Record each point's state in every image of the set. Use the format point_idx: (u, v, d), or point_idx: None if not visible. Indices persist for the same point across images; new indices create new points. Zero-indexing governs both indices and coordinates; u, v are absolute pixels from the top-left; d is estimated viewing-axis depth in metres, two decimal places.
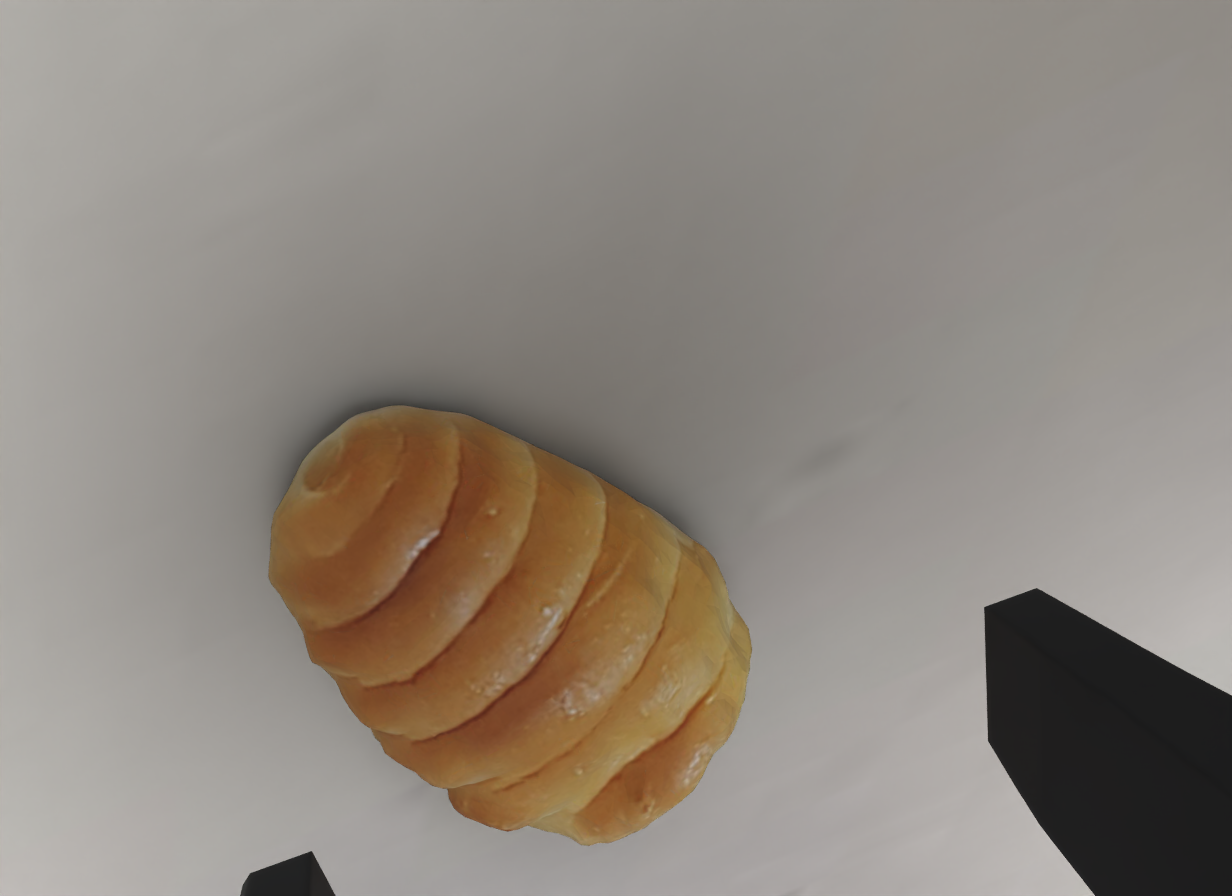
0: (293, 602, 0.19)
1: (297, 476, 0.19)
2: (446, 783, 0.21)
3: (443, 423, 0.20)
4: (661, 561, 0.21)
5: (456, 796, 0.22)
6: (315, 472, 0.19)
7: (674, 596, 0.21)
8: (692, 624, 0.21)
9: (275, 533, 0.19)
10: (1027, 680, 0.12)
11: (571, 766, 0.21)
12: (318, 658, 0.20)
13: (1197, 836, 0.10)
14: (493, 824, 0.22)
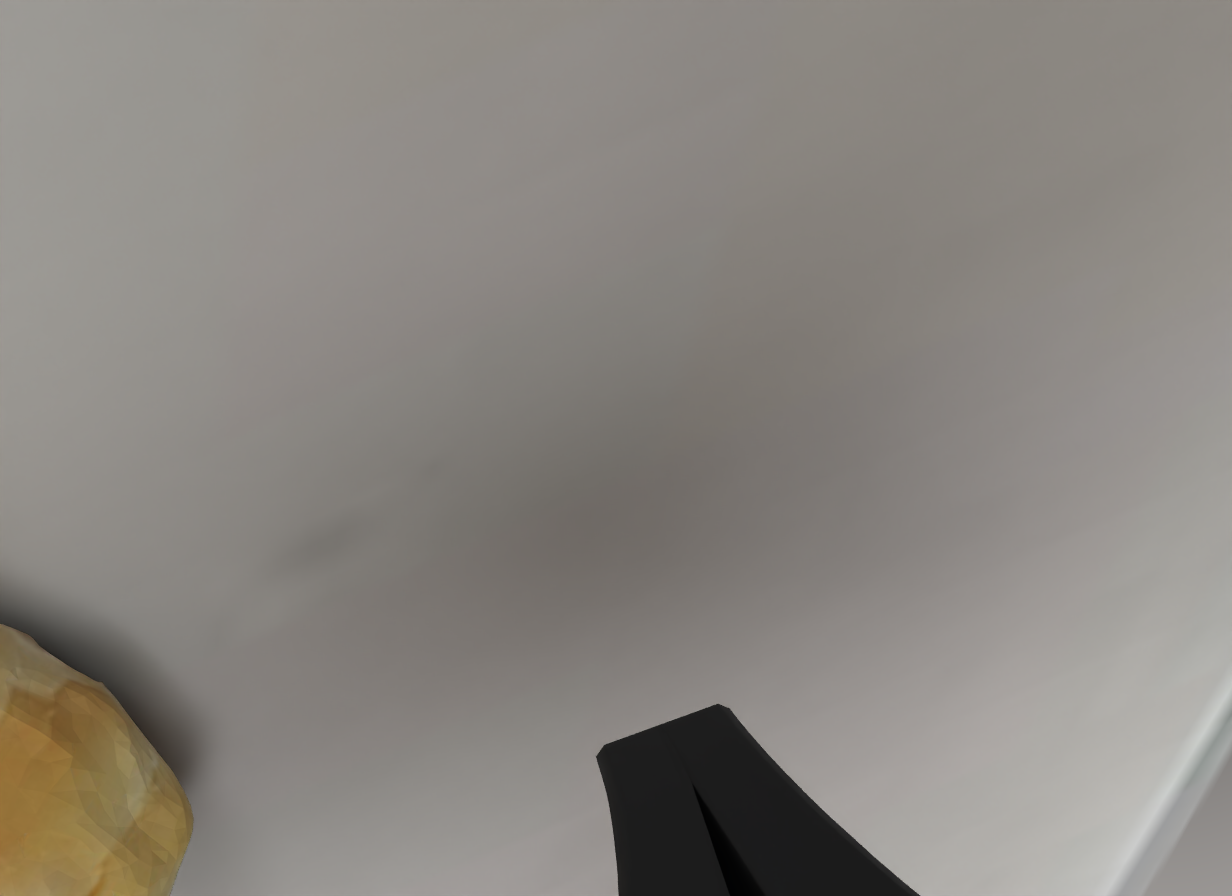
0: None
1: None
2: None
3: None
4: None
5: None
6: None
7: None
8: (7, 829, 0.13)
9: None
10: None
11: None
12: None
13: None
14: None
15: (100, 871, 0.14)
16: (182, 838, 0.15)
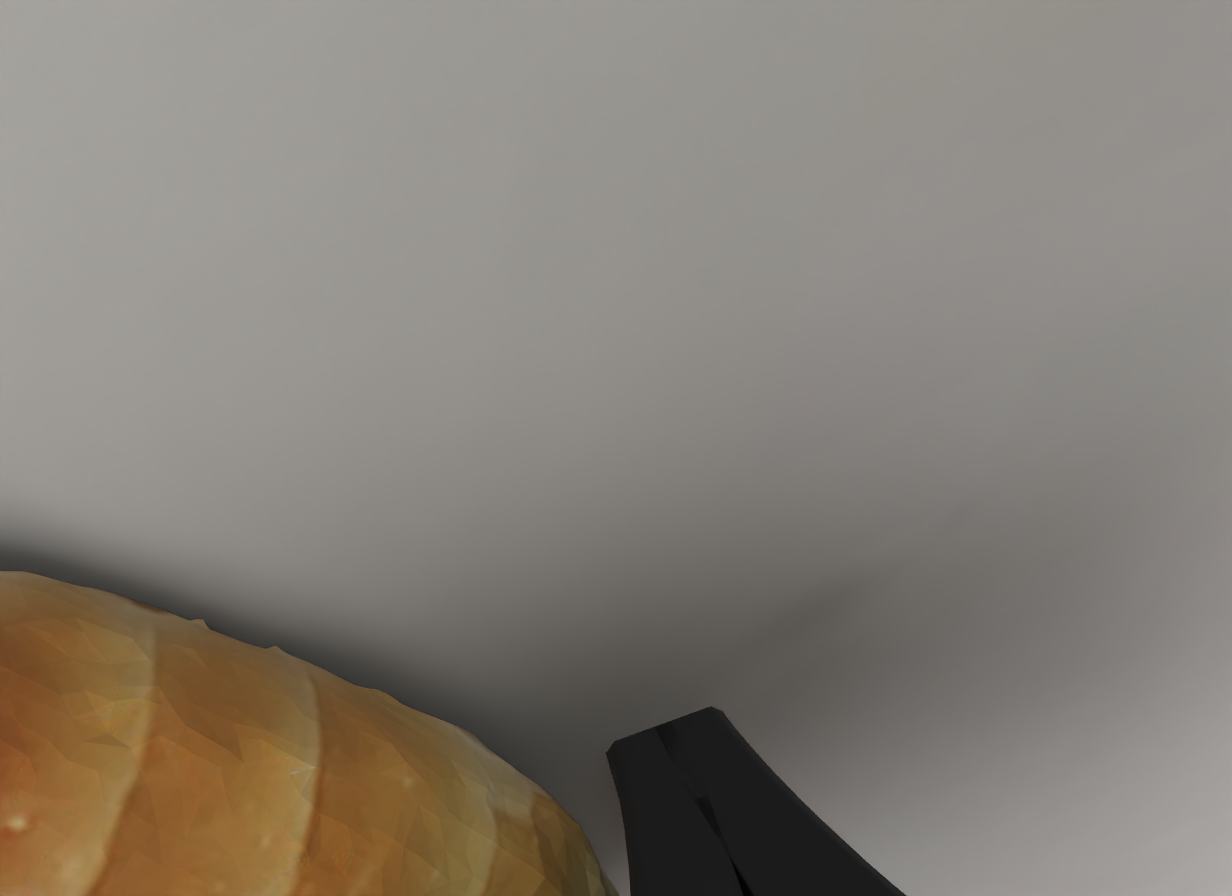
0: None
1: None
2: None
3: None
4: (448, 875, 0.10)
5: None
6: None
7: None
8: None
9: None
10: None
11: None
12: None
13: None
14: None
15: None
16: None
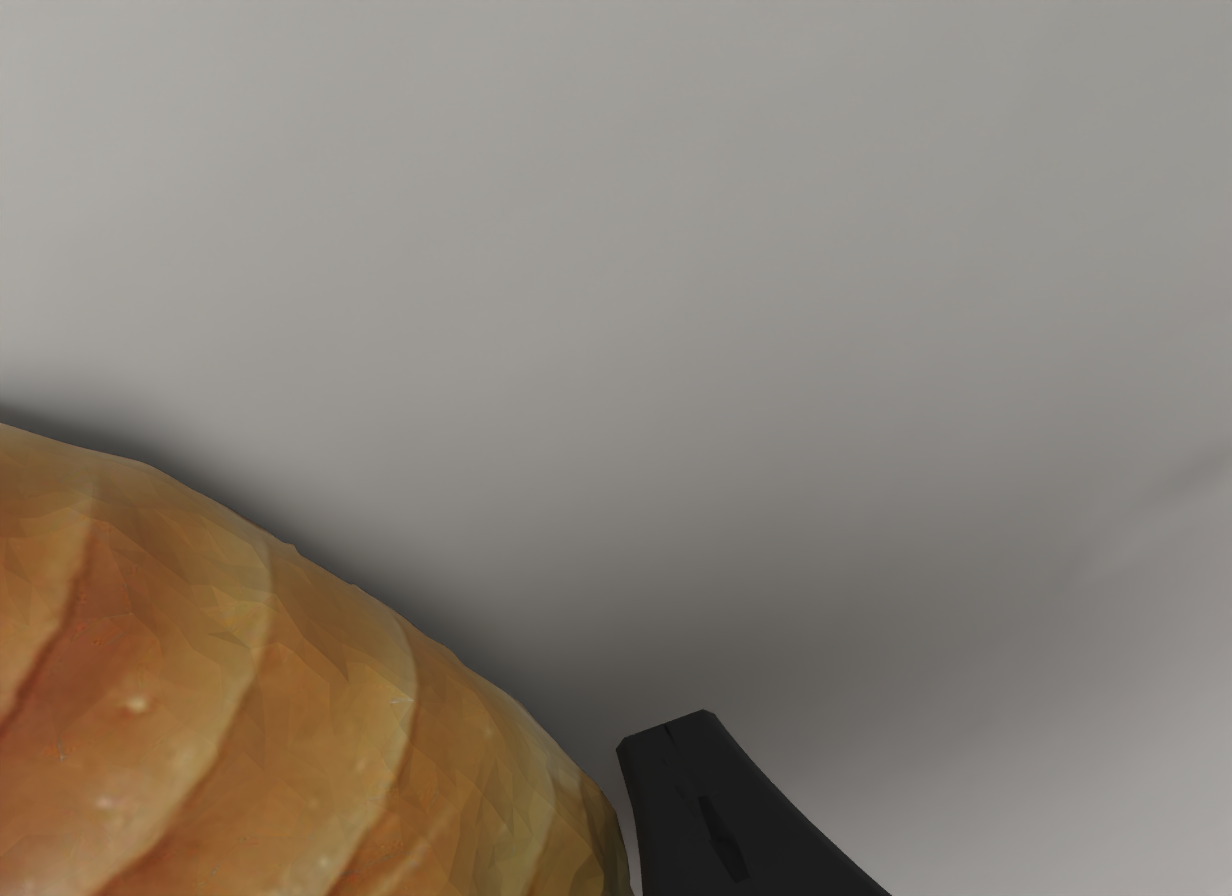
0: None
1: None
2: None
3: (70, 477, 0.09)
4: (513, 832, 0.10)
5: None
6: None
7: None
8: None
9: None
10: None
11: None
12: None
13: None
14: None
15: None
16: None
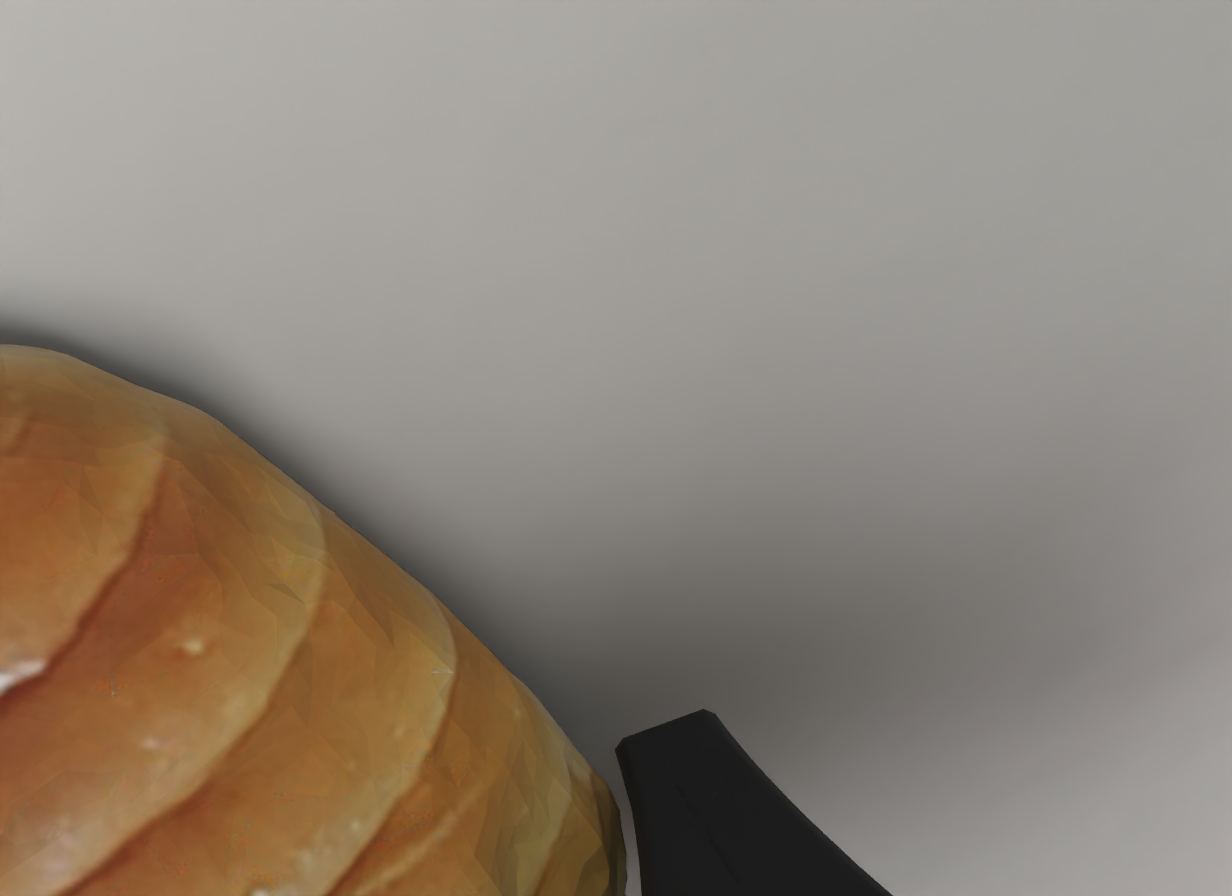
0: None
1: None
2: None
3: (141, 414, 0.08)
4: (533, 815, 0.10)
5: None
6: None
7: (539, 890, 0.10)
8: None
9: None
10: None
11: None
12: None
13: None
14: None
15: None
16: None
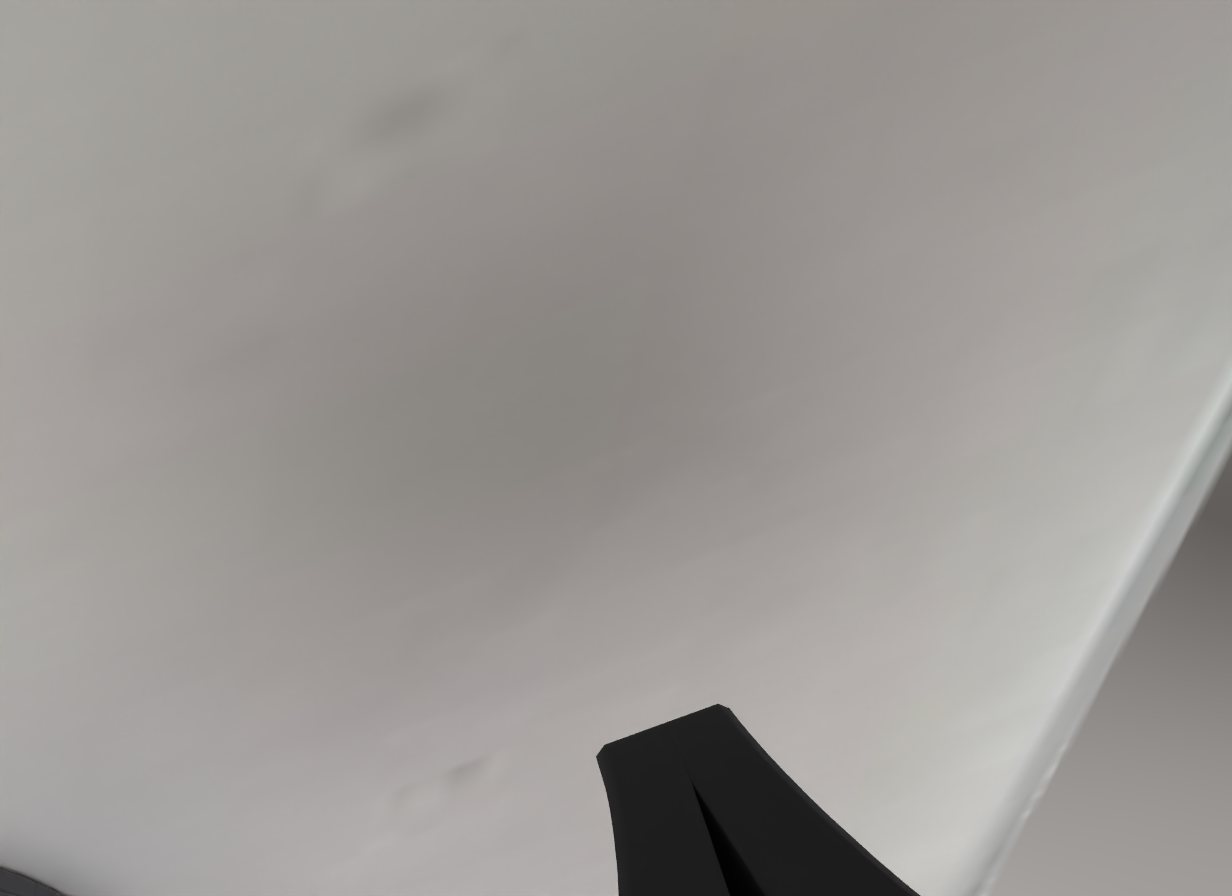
0: None
1: None
2: None
3: None
4: None
5: None
6: None
7: None
8: None
9: None
10: None
11: None
12: None
13: None
14: None
15: None
16: None
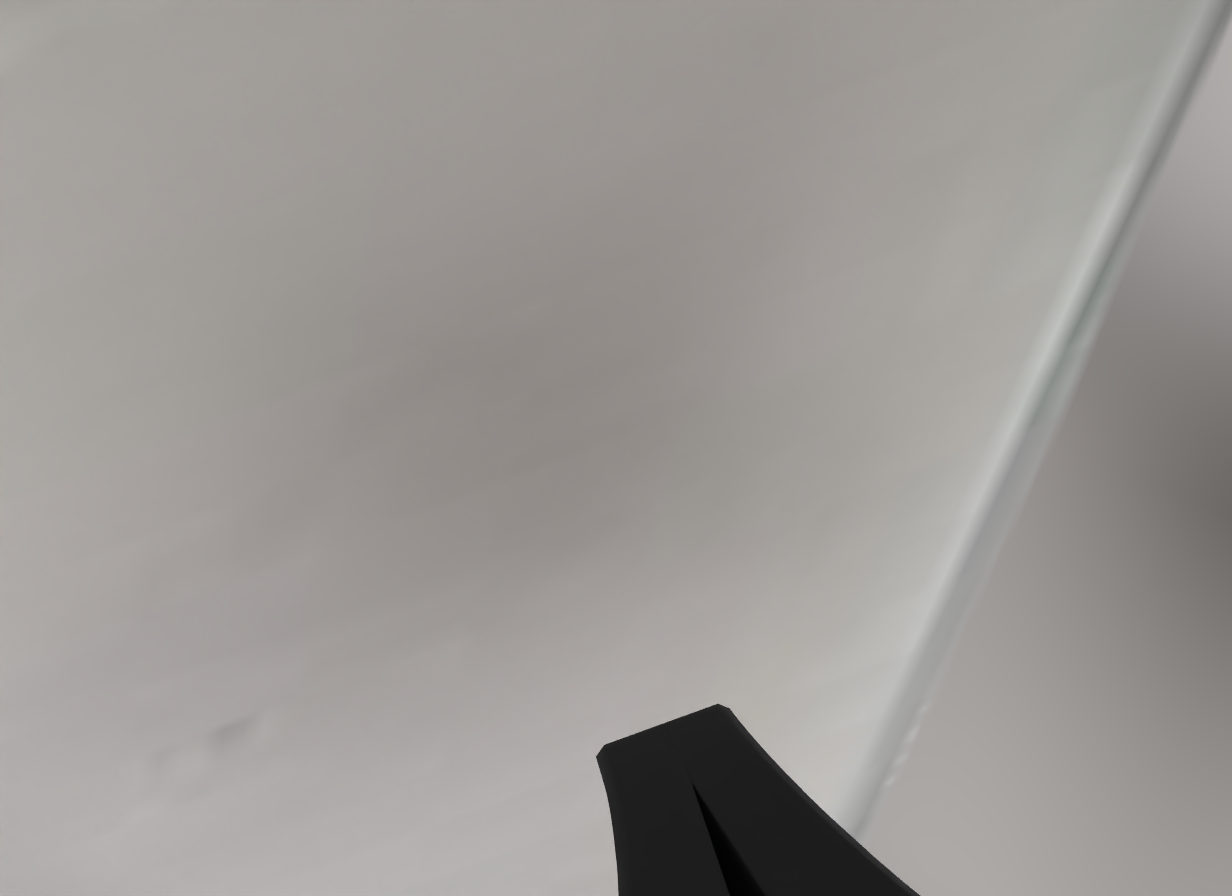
0: None
1: None
2: None
3: None
4: None
5: None
6: None
7: None
8: None
9: None
10: None
11: None
12: None
13: None
14: None
15: None
16: None
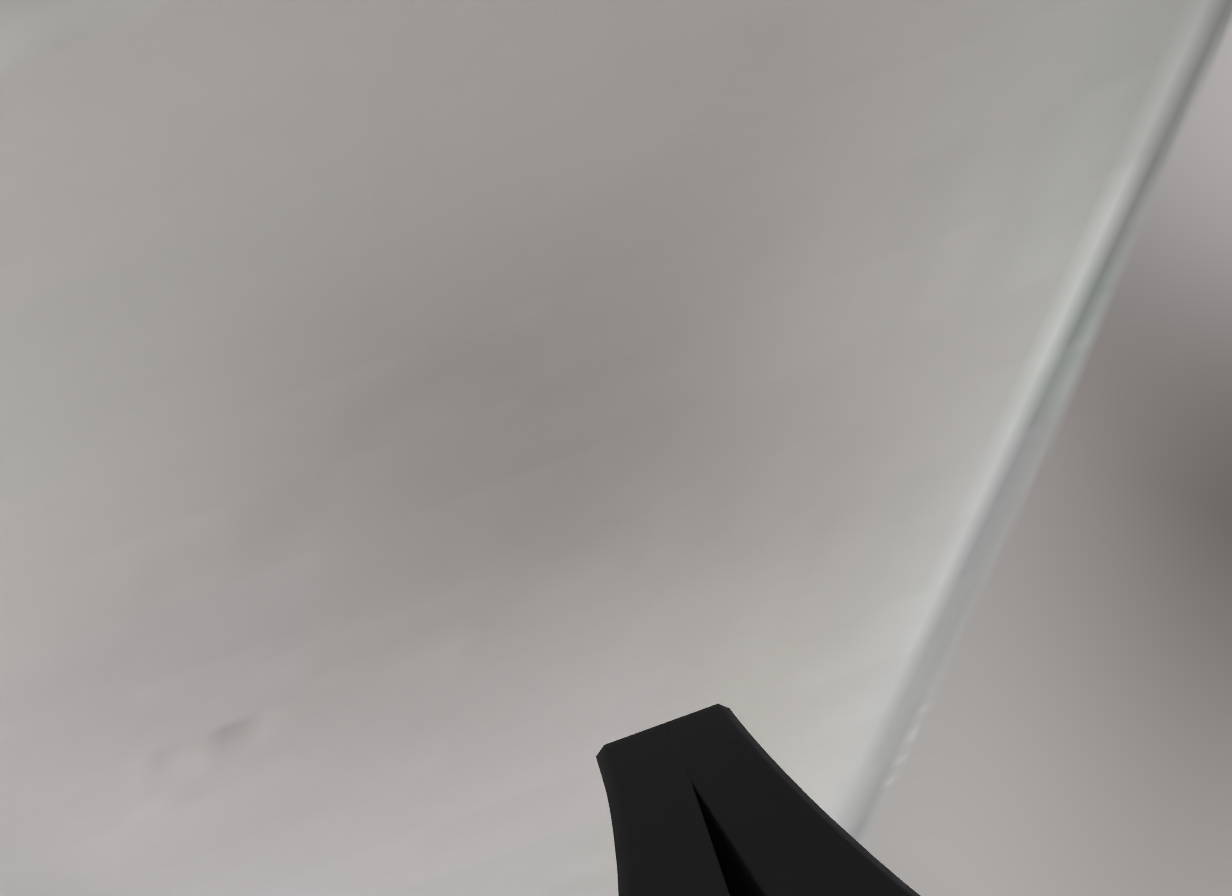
0: None
1: None
2: None
3: None
4: None
5: None
6: None
7: None
8: None
9: None
10: None
11: None
12: None
13: None
14: None
15: None
16: None
